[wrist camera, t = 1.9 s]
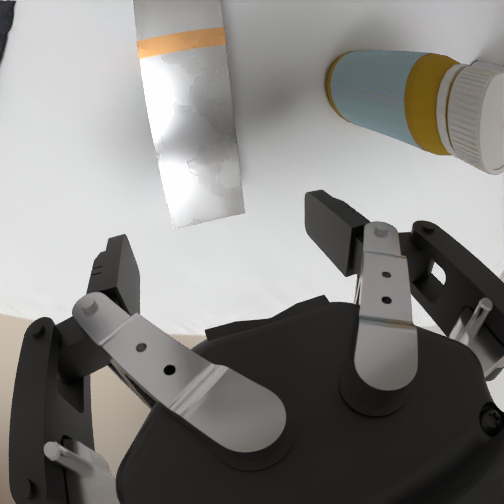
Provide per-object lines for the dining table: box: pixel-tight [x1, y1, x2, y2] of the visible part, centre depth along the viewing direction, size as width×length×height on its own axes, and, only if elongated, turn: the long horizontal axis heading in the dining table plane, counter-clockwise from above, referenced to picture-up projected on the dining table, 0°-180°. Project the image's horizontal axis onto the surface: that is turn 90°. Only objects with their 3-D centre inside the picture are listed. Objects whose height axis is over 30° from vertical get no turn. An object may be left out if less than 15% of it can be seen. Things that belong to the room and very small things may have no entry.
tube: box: [133, 0, 245, 229], centre depth 16 cm, size 20×5×5 cm, turn 5°
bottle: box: [327, 51, 504, 175], centre depth 16 cm, size 7×7×15 cm
